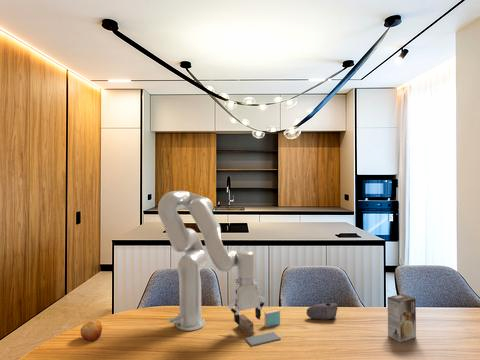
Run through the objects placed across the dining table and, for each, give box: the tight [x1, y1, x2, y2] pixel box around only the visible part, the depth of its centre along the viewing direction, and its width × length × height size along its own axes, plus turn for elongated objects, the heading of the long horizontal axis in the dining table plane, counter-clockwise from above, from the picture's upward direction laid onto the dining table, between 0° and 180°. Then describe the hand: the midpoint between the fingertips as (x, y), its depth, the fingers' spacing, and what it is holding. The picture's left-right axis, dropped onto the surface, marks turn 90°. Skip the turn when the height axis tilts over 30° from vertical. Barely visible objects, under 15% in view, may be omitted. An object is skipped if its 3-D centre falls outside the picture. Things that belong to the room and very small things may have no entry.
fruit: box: [80, 319, 103, 342], centre depth 133 cm, size 8×8×8 cm
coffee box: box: [387, 293, 417, 343], centre depth 134 cm, size 9×6×16 cm
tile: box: [263, 309, 281, 328], centre depth 145 cm, size 7×2×6 cm, turn 114°
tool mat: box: [244, 331, 281, 347], centre depth 132 cm, size 13×6×1 cm, turn 114°
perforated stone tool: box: [306, 302, 338, 321], centre depth 152 cm, size 15×5×7 cm, turn 90°
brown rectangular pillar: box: [237, 313, 254, 337], centre depth 140 cm, size 2×10×5 cm, turn 23°
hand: (247, 320), depth 139 cm, fingers open, 9 cm apart
